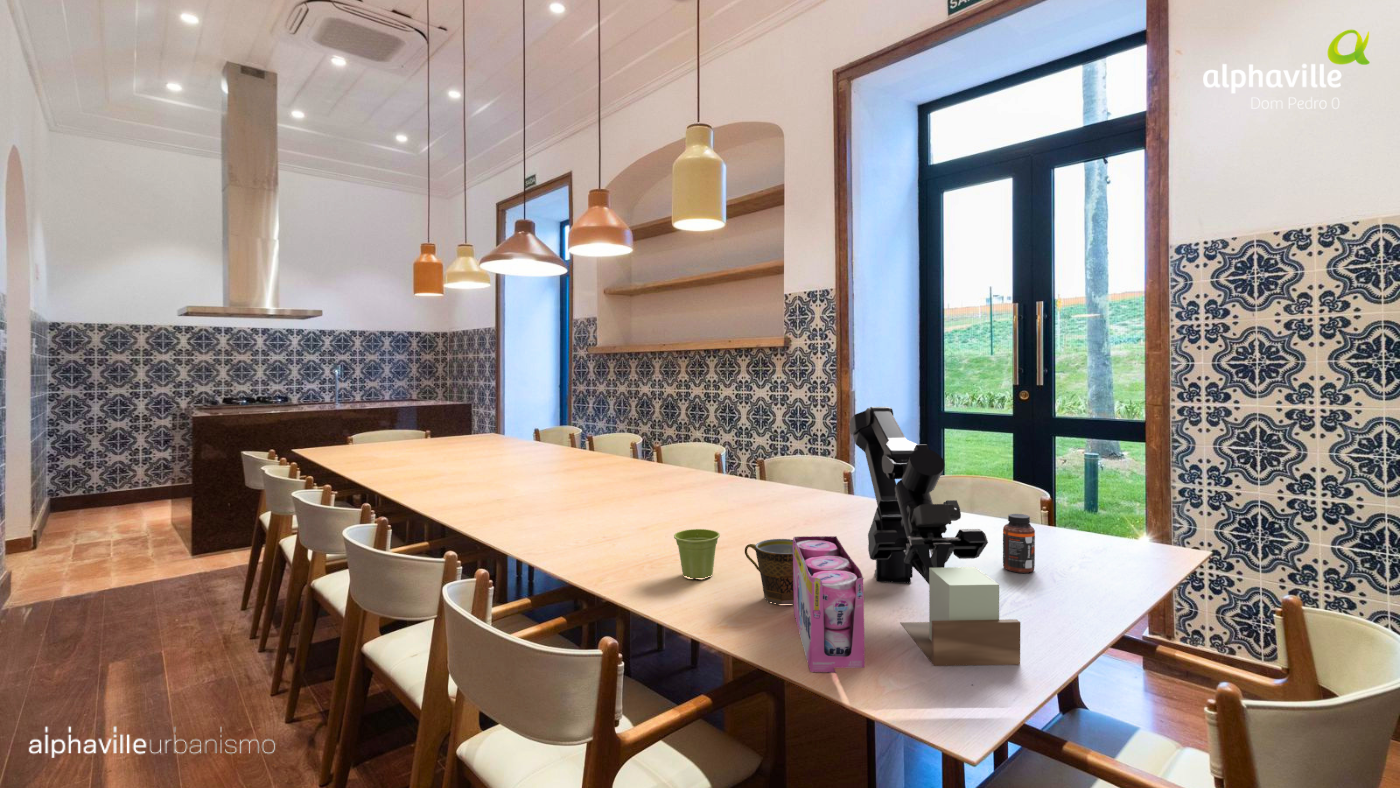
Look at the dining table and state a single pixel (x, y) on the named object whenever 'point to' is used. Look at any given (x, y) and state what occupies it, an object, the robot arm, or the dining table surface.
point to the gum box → (828, 604)
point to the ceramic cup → (775, 569)
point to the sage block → (961, 595)
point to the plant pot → (697, 551)
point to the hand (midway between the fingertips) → (939, 591)
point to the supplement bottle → (1019, 544)
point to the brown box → (968, 641)
